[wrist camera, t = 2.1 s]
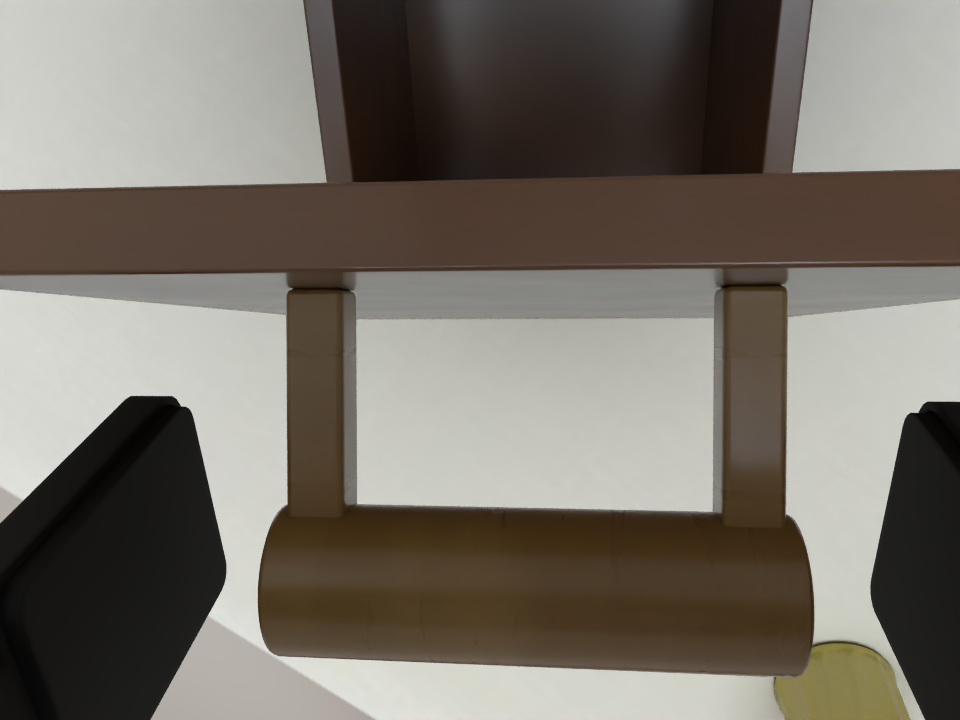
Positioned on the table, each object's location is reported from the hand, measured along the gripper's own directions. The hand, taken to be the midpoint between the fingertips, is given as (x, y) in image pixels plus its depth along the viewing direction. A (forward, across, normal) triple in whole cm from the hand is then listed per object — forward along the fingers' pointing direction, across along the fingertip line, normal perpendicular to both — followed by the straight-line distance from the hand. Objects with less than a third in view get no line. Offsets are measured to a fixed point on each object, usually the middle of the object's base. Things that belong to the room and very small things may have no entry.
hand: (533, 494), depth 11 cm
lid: (+5, 0, -1) cm, 6 cm away
